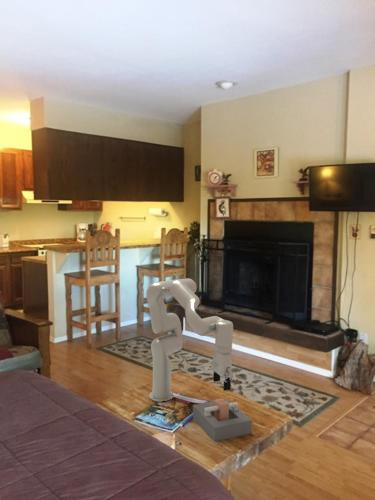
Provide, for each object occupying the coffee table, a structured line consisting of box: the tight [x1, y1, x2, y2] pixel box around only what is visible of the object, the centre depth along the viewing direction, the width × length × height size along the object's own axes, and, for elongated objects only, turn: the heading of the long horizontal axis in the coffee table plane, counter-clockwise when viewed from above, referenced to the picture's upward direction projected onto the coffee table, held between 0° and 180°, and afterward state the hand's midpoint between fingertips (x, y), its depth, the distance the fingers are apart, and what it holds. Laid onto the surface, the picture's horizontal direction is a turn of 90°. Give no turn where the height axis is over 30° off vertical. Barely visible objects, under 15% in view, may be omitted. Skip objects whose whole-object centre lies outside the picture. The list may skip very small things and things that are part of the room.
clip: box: [213, 398, 229, 422], centre depth 191 cm, size 6×4×10 cm, turn 24°
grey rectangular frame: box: [192, 398, 253, 442], centre depth 191 cm, size 22×18×10 cm
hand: (221, 385), depth 190 cm, fingers open, 9 cm apart
